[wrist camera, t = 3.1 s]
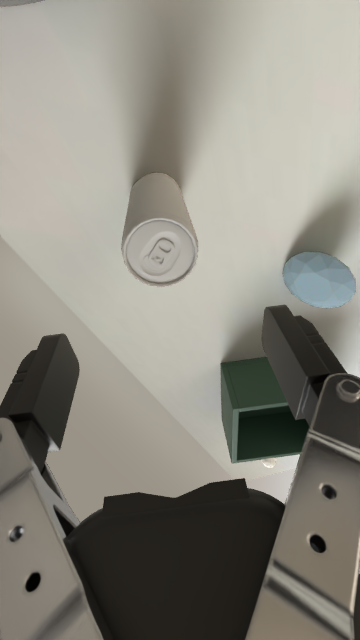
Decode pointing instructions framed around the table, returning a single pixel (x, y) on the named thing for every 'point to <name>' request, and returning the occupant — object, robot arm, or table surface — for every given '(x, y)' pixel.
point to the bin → (257, 413)
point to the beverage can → (158, 232)
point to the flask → (16, 2)
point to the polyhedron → (269, 462)
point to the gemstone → (319, 279)
